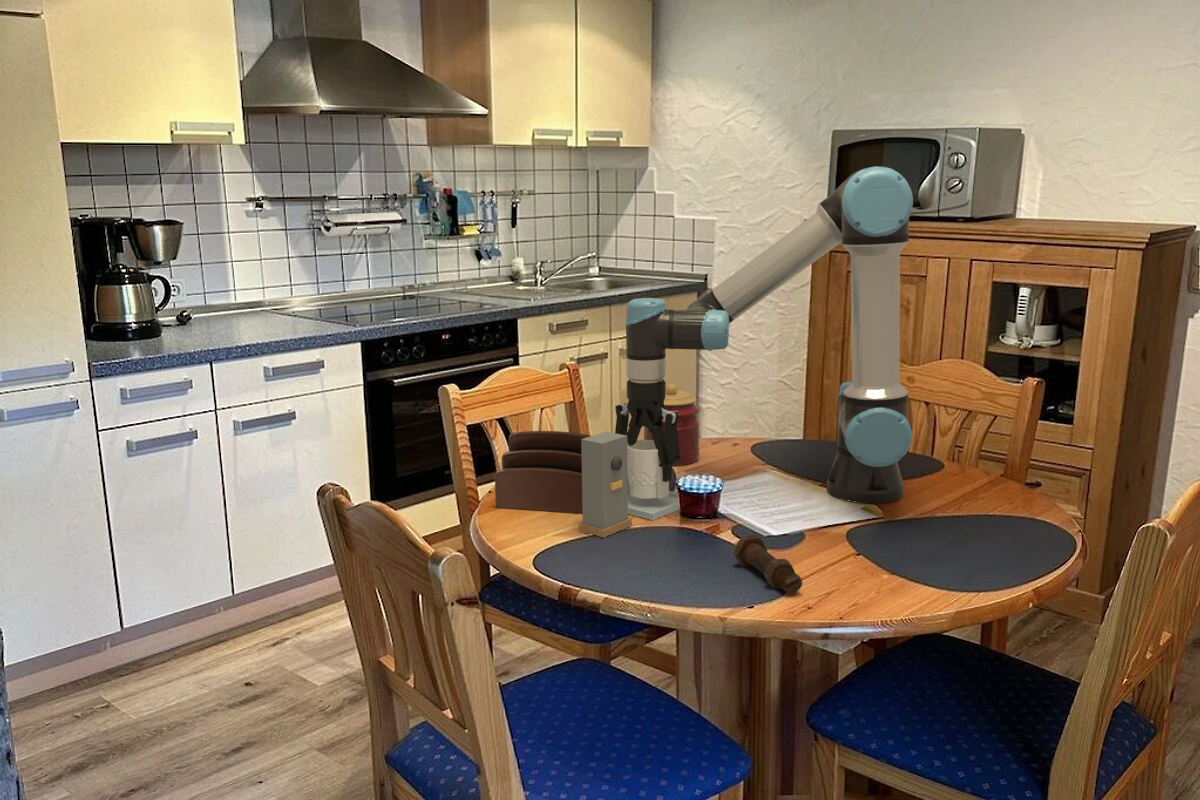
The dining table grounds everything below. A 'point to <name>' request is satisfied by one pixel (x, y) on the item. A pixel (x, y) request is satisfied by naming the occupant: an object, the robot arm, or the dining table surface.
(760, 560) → the bolt
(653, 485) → the white cup
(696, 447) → the canister
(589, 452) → the control box
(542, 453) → the letter holder
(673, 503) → the tray
